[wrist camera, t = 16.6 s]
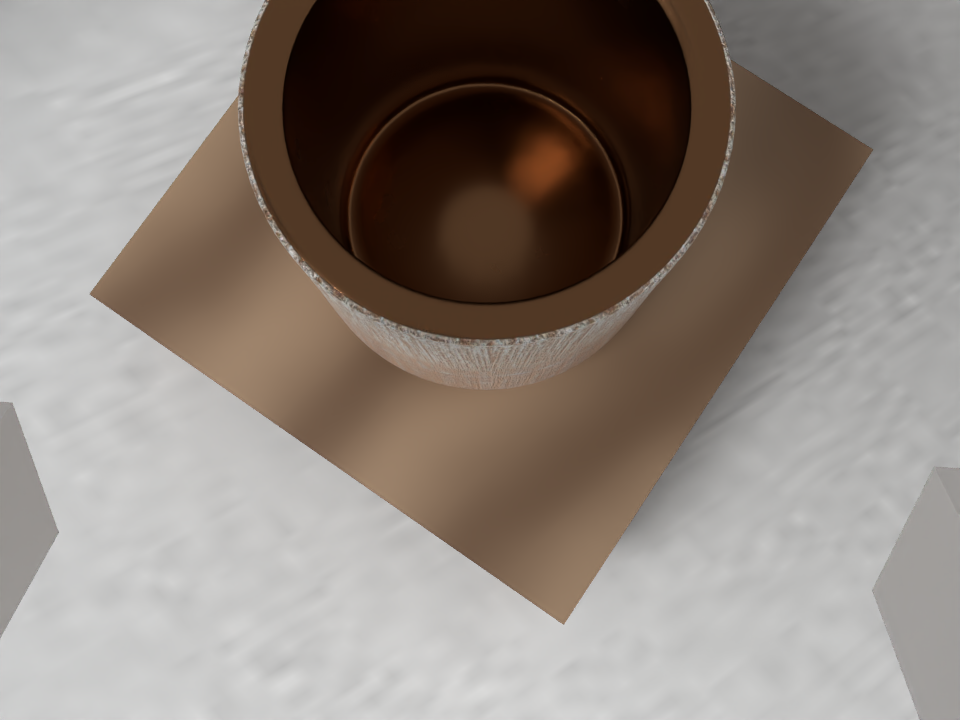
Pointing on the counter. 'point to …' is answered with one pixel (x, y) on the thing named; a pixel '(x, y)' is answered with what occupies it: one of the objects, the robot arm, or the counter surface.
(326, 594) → the counter surface
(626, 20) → the planter
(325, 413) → the plant stand
